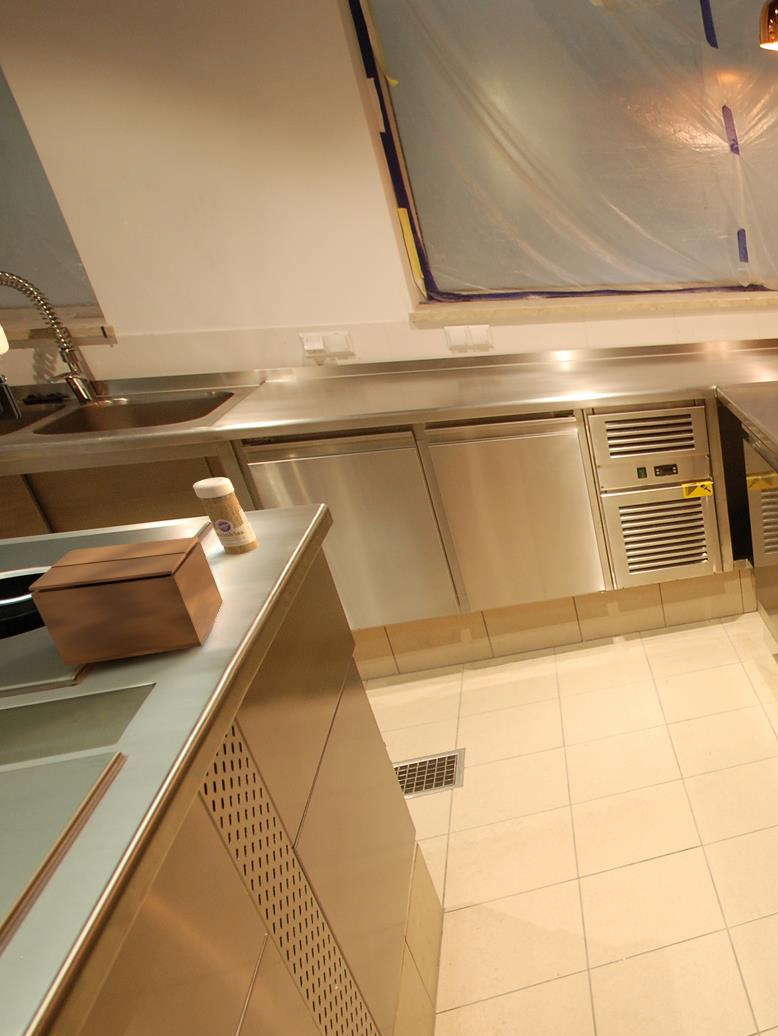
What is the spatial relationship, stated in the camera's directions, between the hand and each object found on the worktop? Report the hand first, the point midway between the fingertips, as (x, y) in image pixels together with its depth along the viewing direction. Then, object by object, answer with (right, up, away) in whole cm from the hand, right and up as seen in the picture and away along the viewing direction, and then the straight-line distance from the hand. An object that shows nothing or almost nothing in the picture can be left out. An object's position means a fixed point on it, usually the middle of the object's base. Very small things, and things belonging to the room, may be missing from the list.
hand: (2, 419), depth 102 cm
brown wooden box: (+10, -26, +9) cm, 29 cm away
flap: (+8, -16, +7) cm, 19 cm away
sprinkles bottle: (+2, -14, +34) cm, 36 cm away
